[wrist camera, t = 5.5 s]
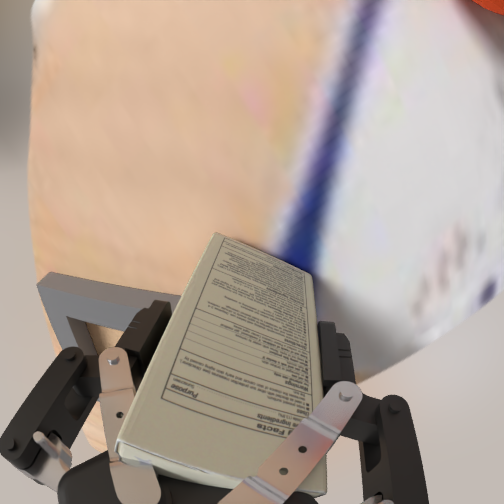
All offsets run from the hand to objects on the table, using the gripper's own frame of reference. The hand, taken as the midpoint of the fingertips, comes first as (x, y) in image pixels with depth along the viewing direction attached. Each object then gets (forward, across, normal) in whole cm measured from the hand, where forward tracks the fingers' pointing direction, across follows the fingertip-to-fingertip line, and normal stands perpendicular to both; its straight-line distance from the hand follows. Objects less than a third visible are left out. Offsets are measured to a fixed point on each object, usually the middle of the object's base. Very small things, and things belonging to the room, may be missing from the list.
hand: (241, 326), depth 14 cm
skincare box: (+4, 0, 0) cm, 4 cm away
